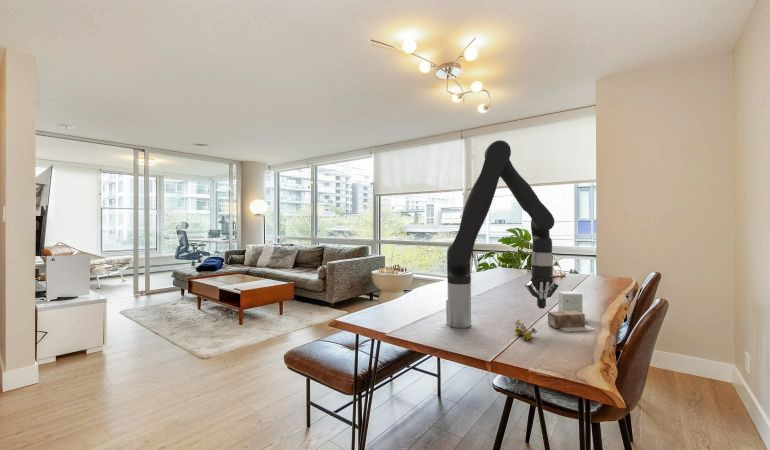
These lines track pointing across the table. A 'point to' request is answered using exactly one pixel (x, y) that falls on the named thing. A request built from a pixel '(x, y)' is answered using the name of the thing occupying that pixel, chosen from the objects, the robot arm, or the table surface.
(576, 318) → the walnut block
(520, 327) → the yellow-green lumpy cluster
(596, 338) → the table surface
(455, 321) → the robot arm
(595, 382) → the table surface
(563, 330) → the mat
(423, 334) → the table surface
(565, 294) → the small box
